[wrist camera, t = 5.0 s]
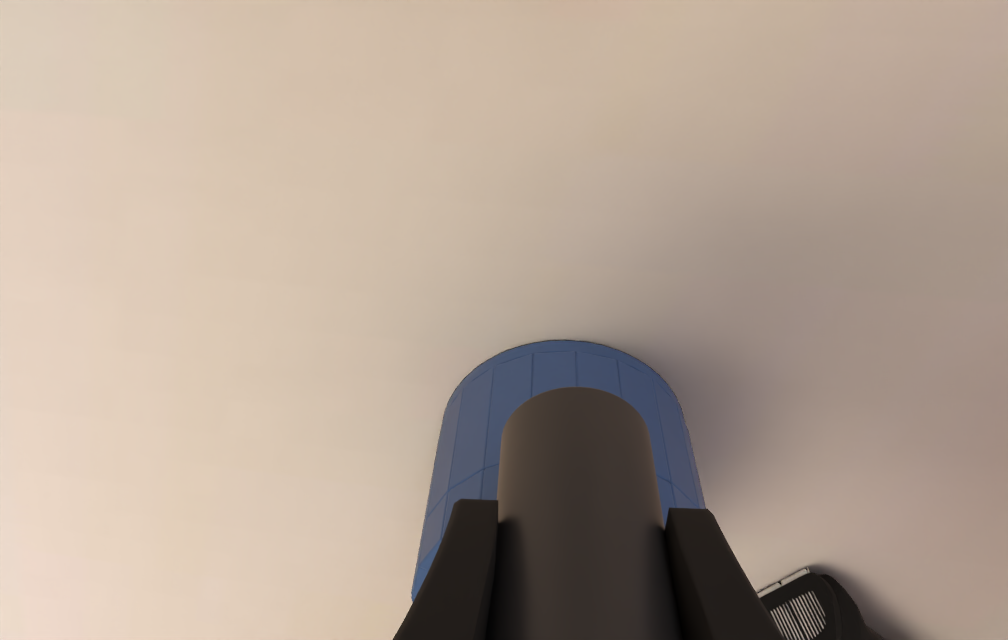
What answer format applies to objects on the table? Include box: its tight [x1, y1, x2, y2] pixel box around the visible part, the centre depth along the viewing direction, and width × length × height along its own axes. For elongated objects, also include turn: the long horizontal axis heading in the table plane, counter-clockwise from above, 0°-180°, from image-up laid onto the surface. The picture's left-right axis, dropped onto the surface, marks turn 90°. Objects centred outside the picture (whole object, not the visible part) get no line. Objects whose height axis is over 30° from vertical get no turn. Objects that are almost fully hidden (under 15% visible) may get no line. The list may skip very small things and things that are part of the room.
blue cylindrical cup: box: [411, 340, 706, 602], centre depth 22 cm, size 8×8×6 cm
